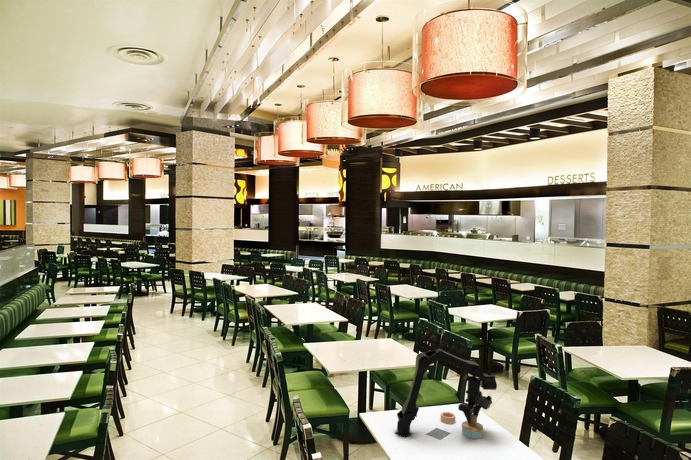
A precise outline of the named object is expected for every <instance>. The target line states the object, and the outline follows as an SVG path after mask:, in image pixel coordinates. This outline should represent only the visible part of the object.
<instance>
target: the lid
mask: <svg viewBox="0 0 691 460" xmlns="http://www.w3.org/2000/svg"><path fill="white" fill-rule="evenodd" d="M462 428H464V429H465V430H467V431H471V432H480V431H482V430H483V431H484V426H483V424H481V423H479V422H478V417H477V415H475V414H473V413H472V418H471V423H468V421H467V420H466V421H462V422H461V429H462Z"/></svg>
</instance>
